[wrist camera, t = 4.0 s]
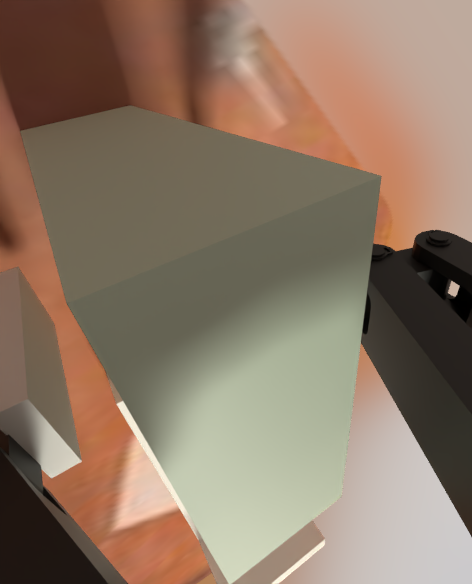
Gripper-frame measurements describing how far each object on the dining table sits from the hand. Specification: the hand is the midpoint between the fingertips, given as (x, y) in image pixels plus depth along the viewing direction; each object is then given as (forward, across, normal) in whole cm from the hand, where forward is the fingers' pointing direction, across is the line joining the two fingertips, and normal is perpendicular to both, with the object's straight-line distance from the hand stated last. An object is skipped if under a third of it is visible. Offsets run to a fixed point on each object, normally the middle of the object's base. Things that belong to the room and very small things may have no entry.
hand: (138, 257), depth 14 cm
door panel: (+2, 0, 0) cm, 2 cm away
